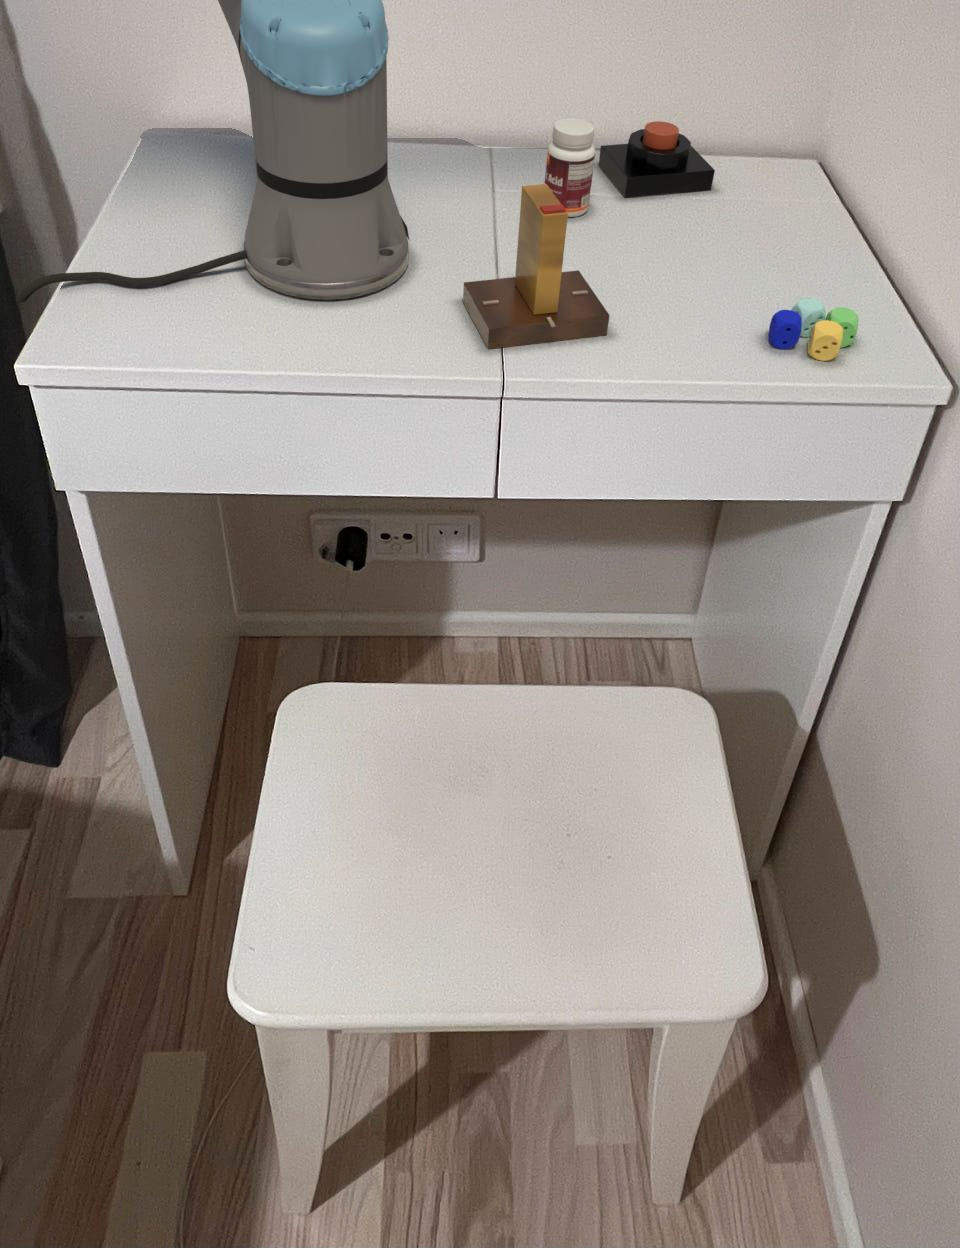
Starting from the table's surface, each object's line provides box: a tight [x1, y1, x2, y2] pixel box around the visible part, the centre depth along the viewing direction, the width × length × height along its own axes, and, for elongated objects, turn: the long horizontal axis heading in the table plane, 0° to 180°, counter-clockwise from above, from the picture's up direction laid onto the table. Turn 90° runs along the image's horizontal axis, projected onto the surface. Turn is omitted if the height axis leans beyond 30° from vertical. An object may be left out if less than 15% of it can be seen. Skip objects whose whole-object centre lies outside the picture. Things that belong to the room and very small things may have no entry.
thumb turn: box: [514, 183, 569, 315], centre depth 95 cm, size 6×2×9 cm, turn 16°
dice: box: [768, 298, 859, 362], centre depth 98 cm, size 8×3×6 cm
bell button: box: [643, 120, 680, 150], centre depth 118 cm, size 4×4×2 cm
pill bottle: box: [544, 117, 596, 218], centre depth 112 cm, size 5×5×8 cm
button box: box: [598, 128, 716, 199], centre depth 120 cm, size 10×8×4 cm
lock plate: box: [462, 270, 610, 350], centre depth 99 cm, size 11×10×2 cm
